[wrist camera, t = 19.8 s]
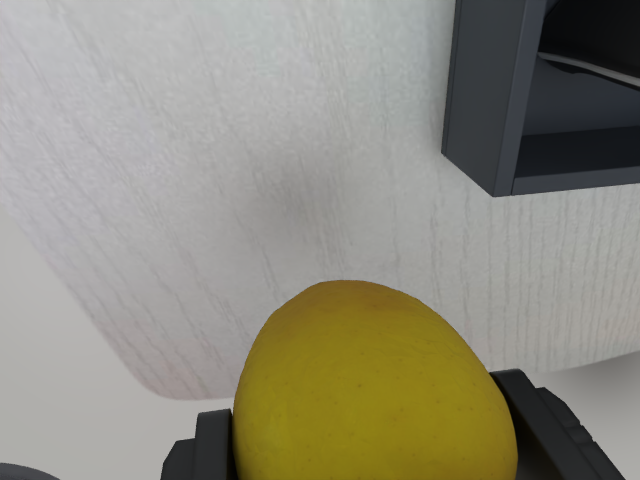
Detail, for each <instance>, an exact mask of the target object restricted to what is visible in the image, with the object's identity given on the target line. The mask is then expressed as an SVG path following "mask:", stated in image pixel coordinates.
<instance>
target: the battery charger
mask: <svg viewBox="0 0 640 480" xmlns="http://www.w3.org/2000/svg"><path fill="white" fill-rule="evenodd" d="M537 55H538V56H539V57H540V58H542V59H545V60H546V61H547V62H548V63H549V64H550V65H552V66H554V67H556V68H557V69H559V70H561V71H564V72H567V73H571V74H575V73H585V74H589V75H593V76H597V77H600V78H602V79H605V80H608V81H610V82H613V83H616V84H619V85H622V86H625V87H628V88H631V89H633V90H636V91H639V92H640V0H561V1H560V2H559V3H558V4H557V6H556V7H555V8H554V9H553V11H552V12H551V13H550V14H549V15H548V17H547V18H546V19H545V20H544V22H543V26H542V31H541V36H540V42H539V47H538V52H537Z"/></svg>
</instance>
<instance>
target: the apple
mask: <svg viewBox="0 0 640 480" xmlns="http://www.w3.org/2000/svg"><path fill="white" fill-rule="evenodd" d="M232 451H233V455H234V459H235V465H236V471H237V475H238V479H239V480H515V477H516V471H517V462H518V452H517V443H516V437H515V430H514V426H513V422H512V419H511V415H510V412H509V409H508V406H507V403H506V401H505V399H504V396H503V395H502V393H501V391H500V390H499V388H498V387H497V385H496V384H495V382H494V381H493V379H492V377H491V376H490V375H489V373H488V372H487V370H486V369H485V367H484V365H483V364H482V363H481V361H480V360H479V359H478V357H477V356H476V355H475V353H474V352H473V351H472V349H471V348H470V347H469V346H468V345H467V343H466V342H465V340H464V339H463V338H462V337H461V336H460V335H459V334H458V333H457V331H456V330H455V329H454V328H453V327H452V326H451V325H450V324H449V323H448V322H447V321H446V320H444V319H443V318H442V317H441V316H440V315H439V314H437V313H436V312H435V311H433V310H432V309H431V308H429V307H428V306H427V305H425V304H424V303H422V302H421V301H420V300H418V299H417V298H414V297H412V296H410V295H408V294H406V293H403V292H401V291H397V290H394V289H391V288H389V287H387V286H383V285H380V284H376V283H372V282H366V281H358V280H336V281H327V282H320V283H318V284H315V285H313V286H311V287H309V288H307V289H305V290H304V291H302V292H301V293H299V294H298V295H296V296H295V297H294V298H292V299H291V300H289V301H288V302H286V303H285V304H284V305H283V306H282V307H281V308H279V309H277V310H276V311H275V312H274V313H273V314H272V315H271V316H270V317H269V318H268V320H267V321H266V323H265V324H264V326H263V327H262V329H261V330H260V332H259V334H258V335H257V337H256V339H255V341H254V343H253V345H252V348H251V350H250V352H249V354H248V357H247V359H246V362H245V366H244V369H243V371H242V373H241V376H240V380H239V384H238V388H237V391H236V395H235V400H234V407H233V415H232Z"/></svg>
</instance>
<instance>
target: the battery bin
mask: <svg viewBox="0 0 640 480" xmlns="http://www.w3.org/2000/svg"><path fill="white" fill-rule="evenodd" d="M560 1H561V0H456V10H455V21H454V31H453V41H452V51H451V61H450V71H449V81H448V91H447V101H446V111H445V121H444V131H443V141H442V151H441V153H442V154H443V155H444V156H445V157H446V158H447V159H449V160H450V161H451V162H452V163H453V164H454V165H456V166H457V167H458V168H459V169H460V170H461V171H463V172H464V173H465V174H466V175H467V176H468V177H470V178H471V179H472V180H473V181H474V182H475V183H477V184H478V185H479V186H480V187H481V188H482V189H484V190H485V191H486V192H487V193H488V194H489V195H491V196H492V197H503V196H510V195H511V196H515V195H525V194H535V193H545V192H555V191H565V190H575V189H585V188H595V187H605V186H615V185H625V184H635V183H640V92H639V91H636V90H633V89H631V88H628V87H625V86H622V85H619V84H616V83H613V82H610V81H608V80H605V79H602V78H600V77H597V76H593V75H589V74H585V73H575V74H571V73H567V72H564V71H561V70H559V69H557V68H556V67H554V66H552V65H550V64H549V63H548V62H547V61H546V60H545V59H542V58H540V57H539V56H538V55H537V52H538V47H539V42H540V36H541V31H542V26H543V22H544V20H545V19H546V18H547V17H548V15H549V14H550V13H551V12H552V11H553V9H554V8H555V7H556V6H557V4H558V3H559V2H560Z"/></svg>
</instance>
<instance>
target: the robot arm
mask: <svg viewBox="0 0 640 480" xmlns="http://www.w3.org/2000/svg"><path fill="white" fill-rule="evenodd" d="M489 375H490V376H491V377H492V379H493V381H494V382H495V384H496V385H497V387H498V388H499V390H500V391H501V393H502V395H503V396H504V399H505V401H506V403H507V406H508V409H509V412H510V415H511V419H512V422H513V426H514V430H515V437H516V443H517V452H518V462H517V471H516V477H515V480H625V478H624V477H623V476H622V475H621V473H620V472H619V471H618V469H617V468H616V467H615V466H614V465H613V463H612V462H611V461H610V459H609V458H608V457H607V455H606V454H605V453H604V452H603V450H602V449H601V448H600V447H599V445H598V444H597V443H596V442H594V441H593V440H592V436H591V435H590V434H589V433H588V431H587V430H586V429H585V427H584V426H583V425H582V426H581V425H580V421H579V420H578V419H577V417H576V416H575V415H574V413H573V412H572V411H571V410H570V408H569V407H568V406H567V404H566V403H565V402H564V401H562V400H561V399H560V398H558V397H557V396H556V395H554V394H553V393H551V392H550V391H549V390H547V389H546V388H545V387H542V388H535V387H534V386H533V384H532V383H531V382H530V380H529V379H528V378H527V376H526V375H525V373H524V372H523V371H522V370H520V369H509V370H502V371H495V372H489ZM160 480H239V479H238V475H237V471H236V465H235V459H234V455H233V451H232V413H231V409H223V410H217V411H209V412H202V413H199V414H198V417H197V424H196V433H195V438H193V439H187V440H179V441H176V442H175V444H174V446H173V447H172V449H171V451H170V452H169V454H168V456H167V458H166V459H165V461H164V463H163V469H162V473H161V479H160Z"/></svg>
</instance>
